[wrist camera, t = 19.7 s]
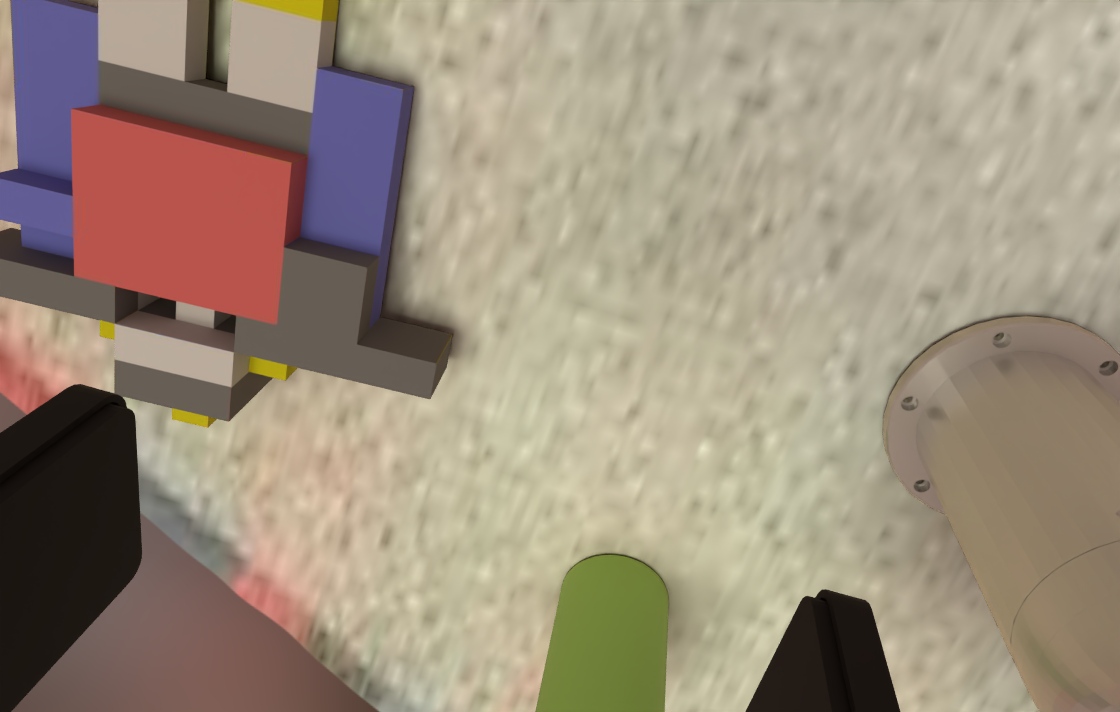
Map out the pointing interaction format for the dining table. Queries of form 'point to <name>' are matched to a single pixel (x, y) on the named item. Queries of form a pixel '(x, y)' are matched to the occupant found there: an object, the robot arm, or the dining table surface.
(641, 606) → the tumbler
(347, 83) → the toy
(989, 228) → the dining table surface
